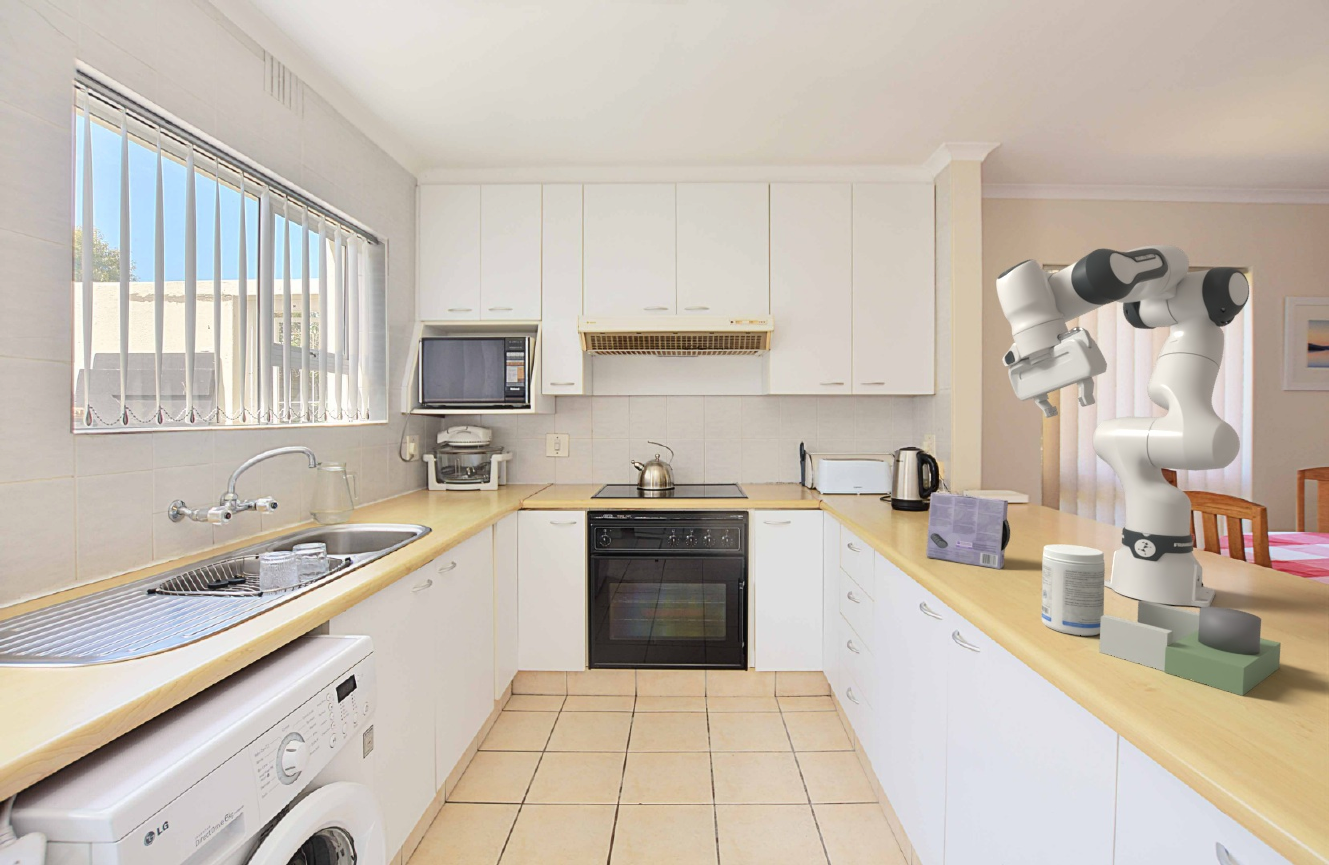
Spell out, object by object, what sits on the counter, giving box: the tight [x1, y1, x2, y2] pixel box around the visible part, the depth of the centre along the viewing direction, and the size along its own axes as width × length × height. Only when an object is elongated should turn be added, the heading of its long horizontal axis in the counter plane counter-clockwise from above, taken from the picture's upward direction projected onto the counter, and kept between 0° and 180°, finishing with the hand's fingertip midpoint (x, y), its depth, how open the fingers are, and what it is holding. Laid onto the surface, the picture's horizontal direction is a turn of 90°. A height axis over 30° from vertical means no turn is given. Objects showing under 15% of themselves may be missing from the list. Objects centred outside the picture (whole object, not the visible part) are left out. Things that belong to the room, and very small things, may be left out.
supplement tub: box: [1041, 543, 1106, 637], centre depth 114 cm, size 10×10×15 cm
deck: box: [1098, 600, 1282, 697], centre depth 100 cm, size 18×18×9 cm
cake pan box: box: [925, 491, 1011, 570], centre depth 162 cm, size 19×5×18 cm, turn 51°
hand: (1069, 411), depth 116 cm, fingers open, 8 cm apart
